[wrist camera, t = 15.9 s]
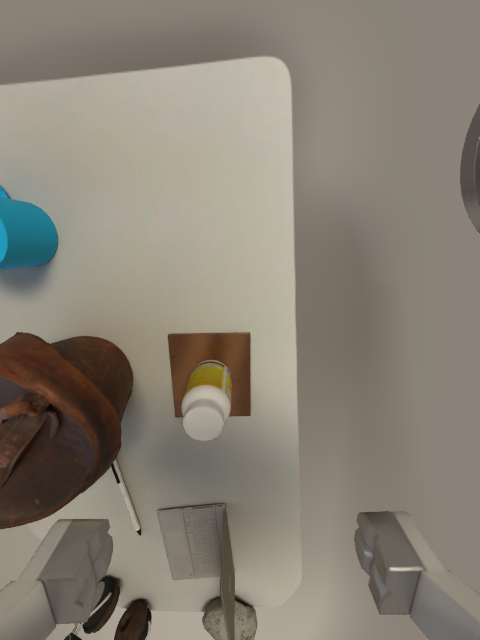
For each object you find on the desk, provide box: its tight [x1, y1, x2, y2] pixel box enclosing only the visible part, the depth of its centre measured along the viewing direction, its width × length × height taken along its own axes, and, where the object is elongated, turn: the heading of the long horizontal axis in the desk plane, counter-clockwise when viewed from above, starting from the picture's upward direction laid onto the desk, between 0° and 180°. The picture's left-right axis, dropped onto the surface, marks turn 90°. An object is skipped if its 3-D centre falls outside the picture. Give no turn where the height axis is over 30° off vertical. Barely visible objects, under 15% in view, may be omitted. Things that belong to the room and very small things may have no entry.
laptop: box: [157, 504, 235, 640], centre depth 45 cm, size 18×12×13 cm
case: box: [0, 332, 133, 529], centre depth 33 cm, size 18×20×18 cm
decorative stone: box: [202, 598, 257, 640], centre depth 55 cm, size 12×11×5 cm
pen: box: [111, 458, 141, 536], centre depth 47 cm, size 1×19×1 cm, turn 10°
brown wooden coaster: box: [168, 333, 250, 417], centre depth 41 cm, size 12×14×1 cm
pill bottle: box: [181, 360, 232, 441], centre depth 36 cm, size 6×6×11 cm
